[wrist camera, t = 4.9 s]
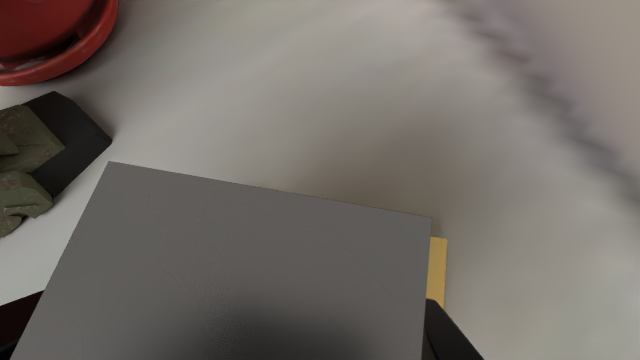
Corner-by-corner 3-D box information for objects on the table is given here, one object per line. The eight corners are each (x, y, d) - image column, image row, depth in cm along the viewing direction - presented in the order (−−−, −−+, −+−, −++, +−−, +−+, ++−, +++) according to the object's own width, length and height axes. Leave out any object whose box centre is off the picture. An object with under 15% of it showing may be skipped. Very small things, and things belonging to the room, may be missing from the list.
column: (347, 409, 13) (396, 806, 2) (246, 384, 14) (-118, 602, 3) (363, 299, 15) (437, 213, 4) (272, 280, 15) (106, 155, 4)
